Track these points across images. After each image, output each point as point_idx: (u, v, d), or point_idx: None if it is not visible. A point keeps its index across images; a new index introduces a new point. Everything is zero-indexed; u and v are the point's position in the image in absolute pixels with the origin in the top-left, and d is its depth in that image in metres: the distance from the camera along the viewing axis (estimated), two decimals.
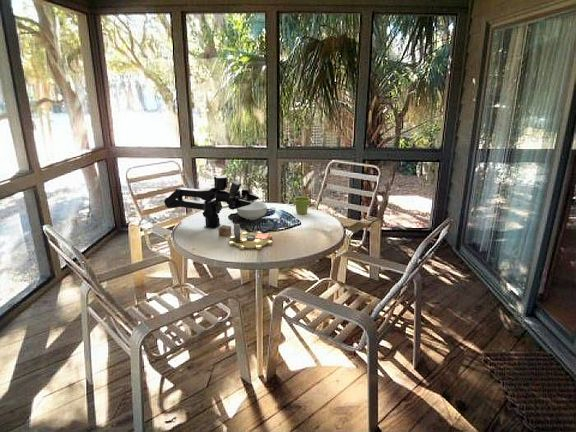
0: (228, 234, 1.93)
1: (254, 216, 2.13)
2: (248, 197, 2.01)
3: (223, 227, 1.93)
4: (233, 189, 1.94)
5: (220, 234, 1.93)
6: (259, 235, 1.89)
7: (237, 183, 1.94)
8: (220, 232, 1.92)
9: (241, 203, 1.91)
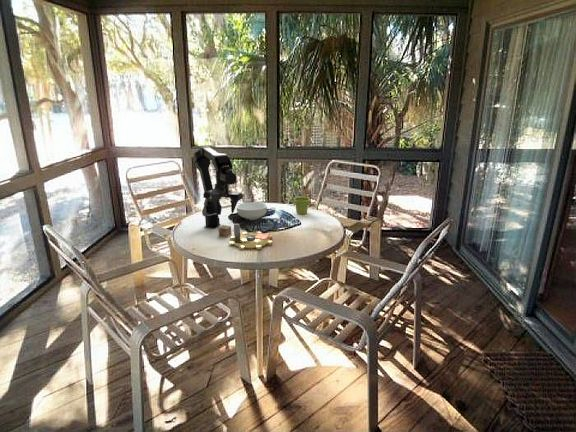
0: (228, 234, 1.93)
1: (254, 216, 2.13)
2: None
3: (223, 227, 1.93)
4: None
5: (220, 234, 1.93)
6: (259, 235, 1.89)
7: (214, 197, 1.81)
8: (220, 232, 1.92)
9: None
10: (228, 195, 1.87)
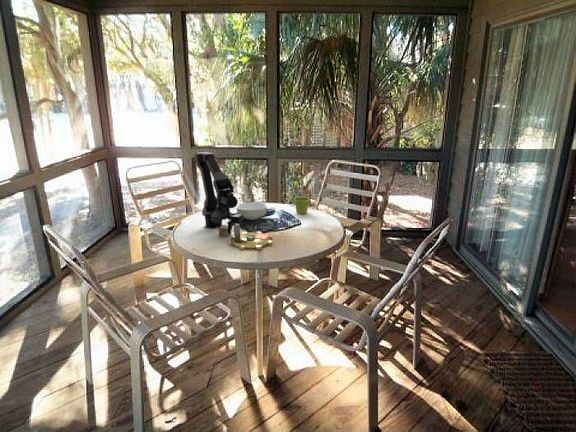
0: (228, 234, 1.93)
1: (254, 216, 2.13)
2: None
3: (223, 227, 1.92)
4: None
5: (220, 234, 1.93)
6: (259, 235, 1.89)
7: (215, 220, 1.85)
8: (220, 231, 1.92)
9: None
10: (229, 217, 1.90)
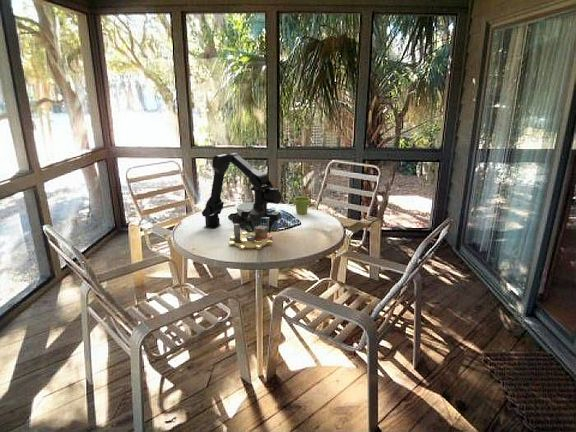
0: (265, 235, 1.87)
1: None
2: None
3: (260, 228, 1.86)
4: None
5: (256, 235, 1.86)
6: None
7: (253, 218, 1.78)
8: (257, 232, 1.86)
9: None
10: (266, 215, 1.83)
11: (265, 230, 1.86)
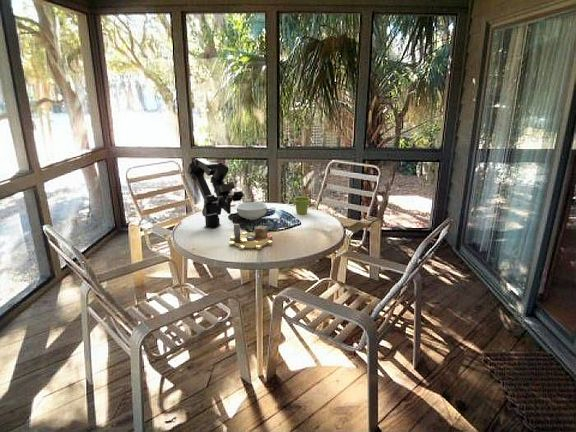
0: (265, 235, 1.87)
1: (254, 216, 2.13)
2: (226, 203, 1.88)
3: (260, 228, 1.86)
4: (220, 189, 1.83)
5: (256, 235, 1.86)
6: None
7: (226, 188, 1.82)
8: (257, 232, 1.86)
9: (223, 206, 1.86)
10: (230, 196, 1.89)
11: (265, 230, 1.86)
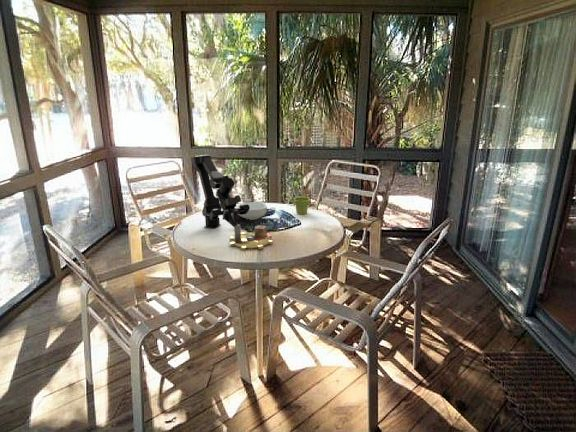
0: (264, 234, 1.87)
1: (254, 216, 2.13)
2: (232, 216, 1.83)
3: (259, 227, 1.86)
4: (226, 203, 1.79)
5: (256, 235, 1.87)
6: None
7: (232, 201, 1.78)
8: (257, 232, 1.86)
9: (229, 220, 1.82)
10: None
11: (265, 230, 1.87)
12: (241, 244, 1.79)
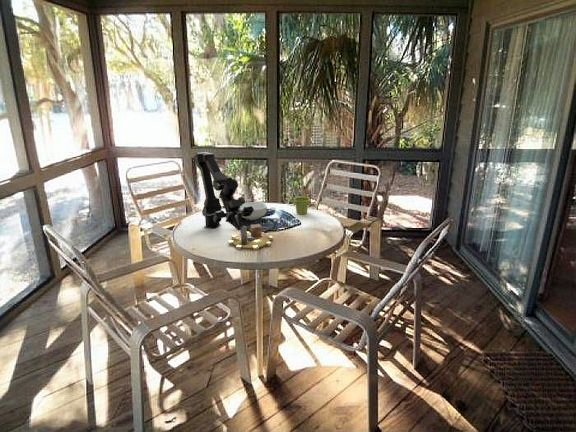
0: None
1: (254, 216, 2.13)
2: (236, 218, 1.81)
3: (255, 226, 1.88)
4: (230, 205, 1.76)
5: (254, 234, 1.88)
6: None
7: (237, 203, 1.75)
8: (254, 231, 1.87)
9: (233, 222, 1.79)
10: None
11: None
12: (250, 245, 1.78)
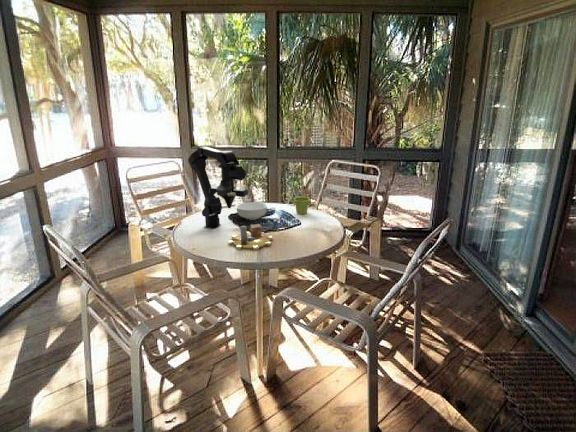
0: None
1: (254, 216, 2.13)
2: None
3: (255, 226, 1.88)
4: None
5: (254, 234, 1.88)
6: None
7: (220, 193, 1.84)
8: (254, 231, 1.87)
9: None
10: (233, 191, 1.90)
11: None
12: (250, 245, 1.78)
